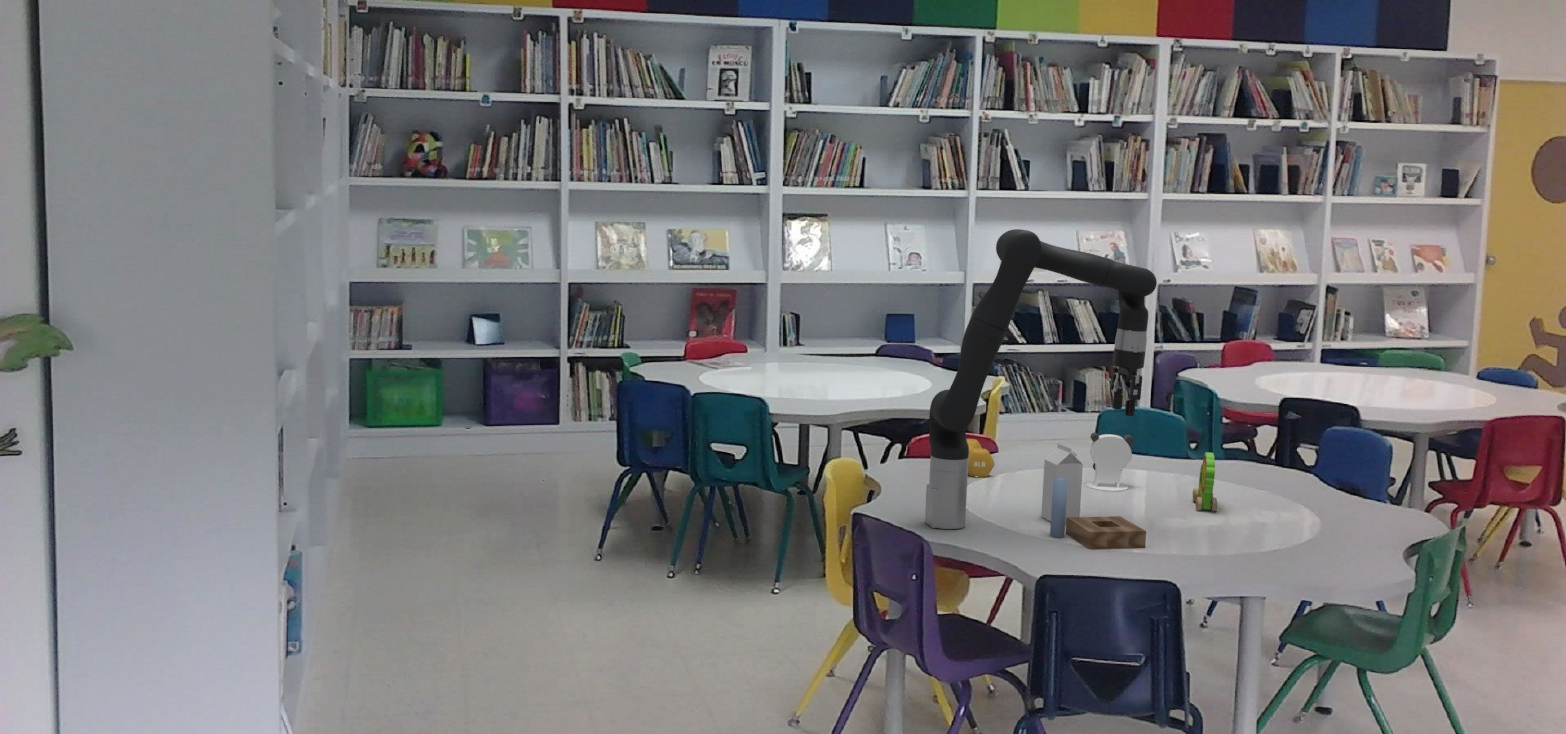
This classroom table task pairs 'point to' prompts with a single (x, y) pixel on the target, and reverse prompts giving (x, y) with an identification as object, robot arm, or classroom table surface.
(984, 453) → the dumbbell
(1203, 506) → the toy lion
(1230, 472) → the classroom table surface
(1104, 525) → the socket
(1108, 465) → the panda figurine
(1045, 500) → the milk carton
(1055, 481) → the peg
